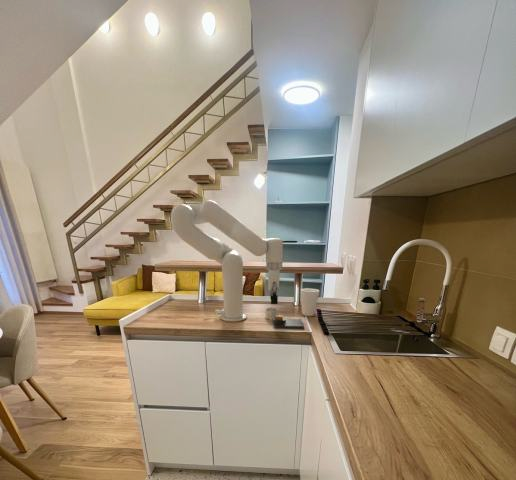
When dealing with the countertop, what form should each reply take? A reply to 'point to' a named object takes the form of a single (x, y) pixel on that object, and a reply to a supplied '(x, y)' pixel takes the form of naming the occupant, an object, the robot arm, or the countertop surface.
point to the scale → (288, 323)
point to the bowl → (271, 313)
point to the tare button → (279, 317)
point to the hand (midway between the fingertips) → (273, 301)
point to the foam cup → (309, 300)
